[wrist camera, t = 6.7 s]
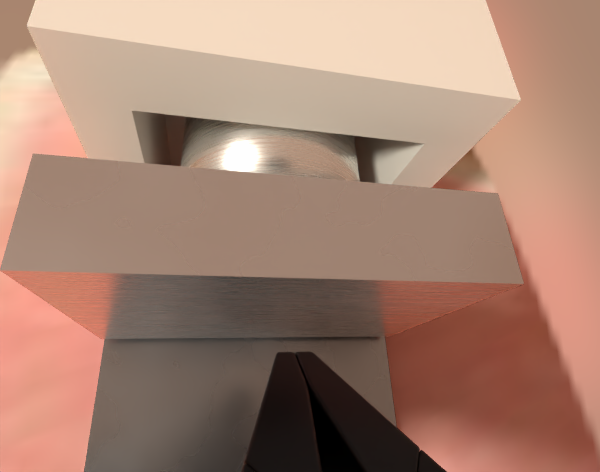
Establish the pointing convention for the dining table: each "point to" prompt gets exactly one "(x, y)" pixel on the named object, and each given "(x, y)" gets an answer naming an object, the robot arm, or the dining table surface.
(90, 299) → the grey piece
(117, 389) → the plate
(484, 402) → the dining table surface
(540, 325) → the dining table surface
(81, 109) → the socket
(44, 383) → the dining table surface
